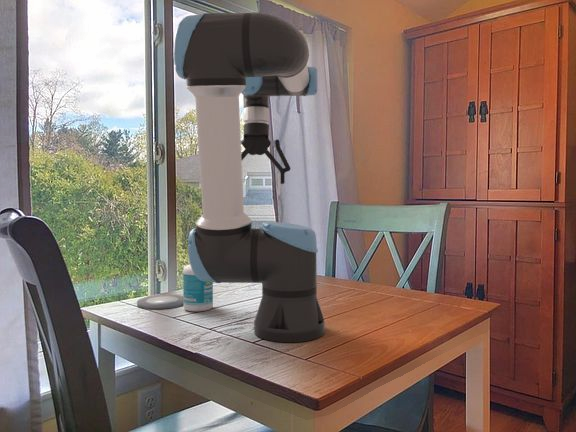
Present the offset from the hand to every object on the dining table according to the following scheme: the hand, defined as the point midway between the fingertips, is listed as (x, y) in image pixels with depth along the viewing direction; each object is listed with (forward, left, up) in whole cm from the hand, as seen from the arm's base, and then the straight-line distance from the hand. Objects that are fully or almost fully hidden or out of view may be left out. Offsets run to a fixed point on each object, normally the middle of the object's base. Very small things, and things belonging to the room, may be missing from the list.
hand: (256, 195), depth 143 cm
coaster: (-4, +29, -29) cm, 41 cm away
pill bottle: (-14, +22, -29) cm, 39 cm away
